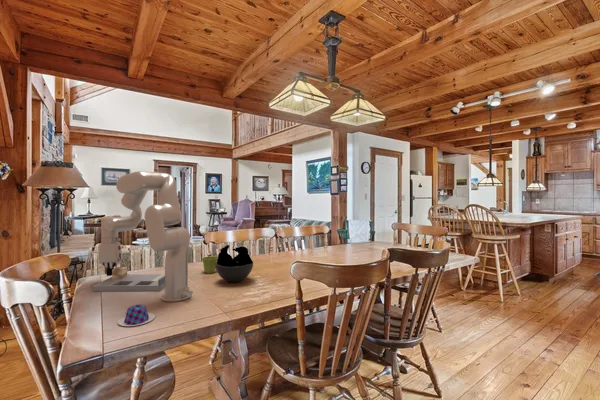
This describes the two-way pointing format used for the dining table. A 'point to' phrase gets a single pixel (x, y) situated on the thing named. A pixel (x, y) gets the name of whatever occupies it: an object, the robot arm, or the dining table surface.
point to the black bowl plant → (234, 264)
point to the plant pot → (209, 264)
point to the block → (119, 273)
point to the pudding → (136, 316)
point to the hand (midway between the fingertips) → (110, 275)
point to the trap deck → (133, 283)
